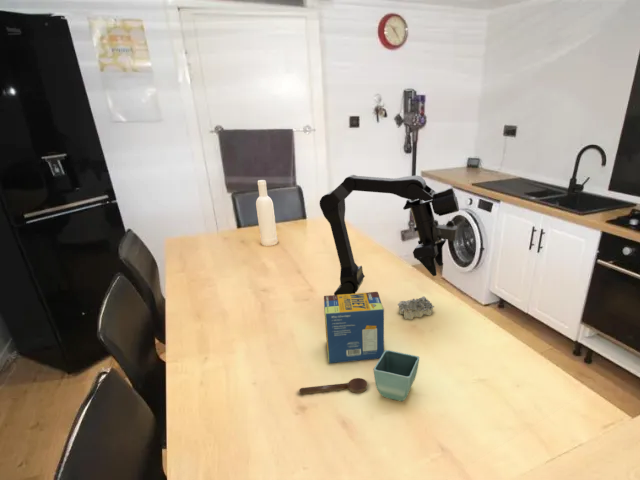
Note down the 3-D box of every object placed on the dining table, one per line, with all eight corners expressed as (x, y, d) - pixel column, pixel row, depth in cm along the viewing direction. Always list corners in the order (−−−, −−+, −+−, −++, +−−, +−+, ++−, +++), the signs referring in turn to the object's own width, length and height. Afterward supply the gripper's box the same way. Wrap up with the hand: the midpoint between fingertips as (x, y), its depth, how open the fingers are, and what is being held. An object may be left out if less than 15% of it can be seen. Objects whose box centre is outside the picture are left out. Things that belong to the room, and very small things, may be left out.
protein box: (326, 343, 119) (323, 295, 112) (378, 338, 121) (378, 291, 114) (328, 364, 109) (324, 313, 103) (384, 358, 112) (384, 308, 105)
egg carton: (405, 321, 130) (405, 310, 128) (396, 310, 136) (396, 299, 135) (435, 314, 134) (435, 303, 132) (424, 304, 140) (425, 294, 138)
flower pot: (418, 386, 101) (420, 355, 97) (409, 409, 94) (410, 377, 90) (385, 378, 104) (385, 349, 100) (373, 401, 96) (372, 369, 92)
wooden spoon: (299, 399, 97) (298, 395, 96) (299, 387, 101) (299, 382, 100) (368, 392, 99) (368, 387, 99) (365, 380, 103) (365, 375, 103)
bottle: (275, 246, 195) (267, 182, 182) (259, 246, 195) (250, 182, 182) (279, 240, 202) (272, 178, 189) (263, 240, 202) (255, 178, 189)
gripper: (445, 221, 106) (459, 276, 111) (456, 207, 123) (468, 255, 127) (405, 230, 111) (421, 283, 115) (421, 216, 127) (434, 262, 131)
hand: (438, 270), depth 122 cm, fingers open, 9 cm apart
